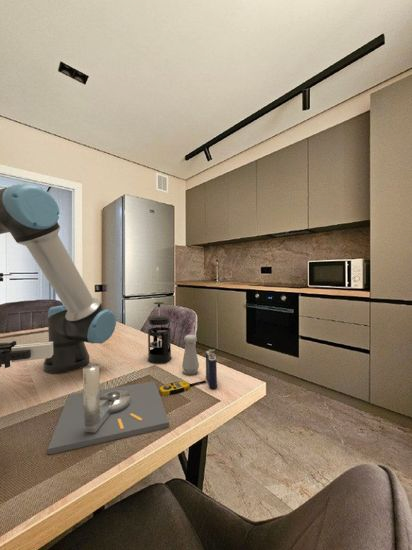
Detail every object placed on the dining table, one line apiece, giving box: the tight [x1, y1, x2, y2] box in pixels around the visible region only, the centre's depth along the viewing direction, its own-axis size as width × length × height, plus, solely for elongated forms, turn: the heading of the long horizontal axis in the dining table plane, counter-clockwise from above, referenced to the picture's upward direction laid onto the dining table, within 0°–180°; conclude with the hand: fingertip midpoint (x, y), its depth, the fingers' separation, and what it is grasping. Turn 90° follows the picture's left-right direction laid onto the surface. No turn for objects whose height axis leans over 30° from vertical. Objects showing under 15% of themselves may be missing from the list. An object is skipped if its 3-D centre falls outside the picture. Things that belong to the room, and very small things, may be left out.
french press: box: [147, 301, 173, 365], centre depth 98 cm, size 12×9×23 cm
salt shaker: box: [182, 334, 200, 376], centre depth 86 cm, size 6×6×13 cm
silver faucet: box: [82, 364, 130, 433], centre depth 60 cm, size 16×8×14 cm, turn 175°
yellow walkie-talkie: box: [158, 380, 207, 397], centre depth 75 cm, size 5×2×15 cm
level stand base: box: [47, 380, 170, 455], centre depth 63 cm, size 22×24×1 cm
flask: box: [205, 349, 218, 391], centre depth 78 cm, size 9×3×11 cm, turn 8°
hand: (51, 349), depth 50 cm, fingers closed
